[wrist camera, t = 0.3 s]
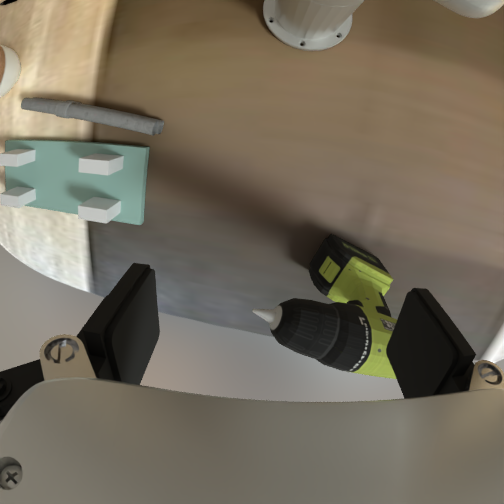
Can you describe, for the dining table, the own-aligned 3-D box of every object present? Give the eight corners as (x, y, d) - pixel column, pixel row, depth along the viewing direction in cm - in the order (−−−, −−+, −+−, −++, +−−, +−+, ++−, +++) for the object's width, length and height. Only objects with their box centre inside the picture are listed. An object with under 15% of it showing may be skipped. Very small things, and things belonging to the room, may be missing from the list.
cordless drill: (247, 242, 49) (234, 354, 26) (268, 202, 46) (272, 293, 23) (367, 297, 52) (417, 407, 29) (389, 264, 49) (458, 366, 27)
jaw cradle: (10, 139, 42) (-13, 145, 36) (149, 147, 43) (132, 152, 37) (11, 200, 46) (-10, 210, 41) (143, 222, 48) (127, 237, 42)
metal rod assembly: (166, 118, 41) (155, 118, 37) (161, 136, 42) (149, 138, 38) (37, 94, 39) (19, 95, 34) (34, 110, 40) (16, 111, 35)
